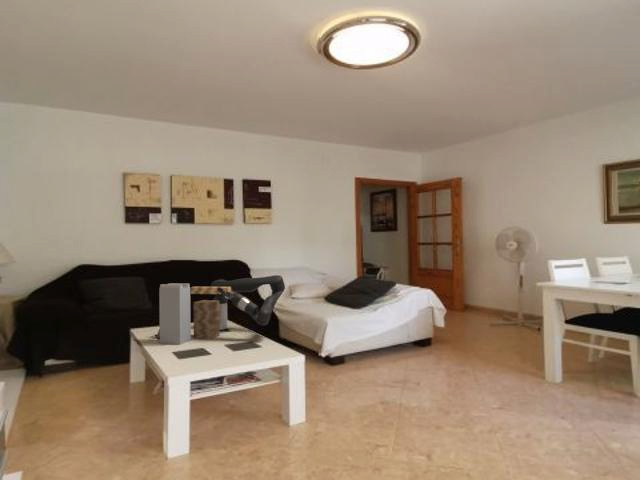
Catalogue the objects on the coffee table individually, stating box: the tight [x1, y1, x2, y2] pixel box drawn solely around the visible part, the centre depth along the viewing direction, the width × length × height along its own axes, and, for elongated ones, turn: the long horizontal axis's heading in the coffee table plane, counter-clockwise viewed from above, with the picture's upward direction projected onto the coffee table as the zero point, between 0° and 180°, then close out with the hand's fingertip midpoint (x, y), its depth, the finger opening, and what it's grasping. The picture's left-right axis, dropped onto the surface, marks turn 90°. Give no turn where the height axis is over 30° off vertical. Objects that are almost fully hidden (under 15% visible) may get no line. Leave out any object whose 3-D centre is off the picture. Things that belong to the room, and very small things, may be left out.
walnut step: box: [192, 299, 221, 340], centre depth 254 cm, size 12×10×22 cm
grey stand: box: [158, 283, 192, 345], centre depth 242 cm, size 14×10×34 cm
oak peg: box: [190, 286, 231, 295], centre depth 254 cm, size 26×4×4 cm, turn 72°
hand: (220, 288), depth 251 cm, fingers closed on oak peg, 4 cm apart
